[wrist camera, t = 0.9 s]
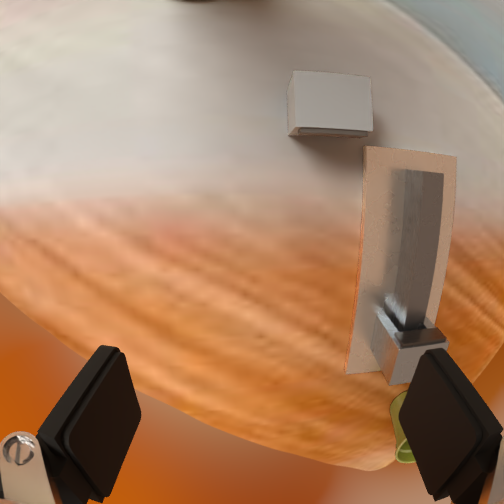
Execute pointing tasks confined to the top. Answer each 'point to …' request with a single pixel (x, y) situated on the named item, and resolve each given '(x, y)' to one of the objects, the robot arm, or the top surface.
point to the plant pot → (400, 432)
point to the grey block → (329, 104)
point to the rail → (401, 260)
